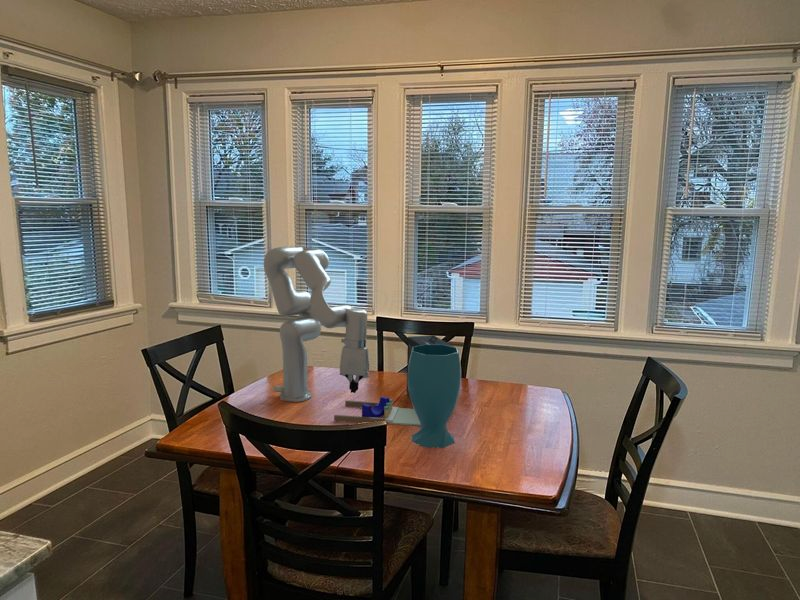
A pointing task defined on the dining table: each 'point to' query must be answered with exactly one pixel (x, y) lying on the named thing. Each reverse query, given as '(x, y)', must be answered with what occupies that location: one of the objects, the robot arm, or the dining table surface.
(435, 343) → the headset box
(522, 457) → the dining table surface
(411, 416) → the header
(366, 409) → the cable clip
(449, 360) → the vase
